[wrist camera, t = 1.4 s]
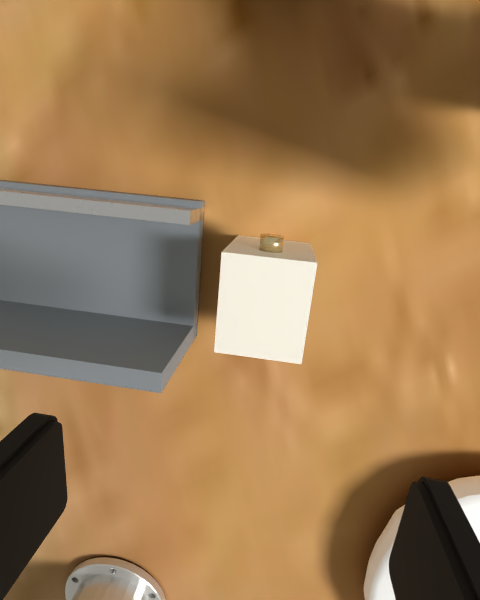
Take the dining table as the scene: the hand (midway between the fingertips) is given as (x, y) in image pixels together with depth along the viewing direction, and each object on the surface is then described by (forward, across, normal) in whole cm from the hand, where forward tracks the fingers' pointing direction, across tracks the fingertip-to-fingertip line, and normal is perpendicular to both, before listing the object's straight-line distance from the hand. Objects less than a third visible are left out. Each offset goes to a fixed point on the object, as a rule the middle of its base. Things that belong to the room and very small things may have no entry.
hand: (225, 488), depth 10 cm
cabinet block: (+23, 0, 0) cm, 23 cm away
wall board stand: (+23, +17, 0) cm, 29 cm away
